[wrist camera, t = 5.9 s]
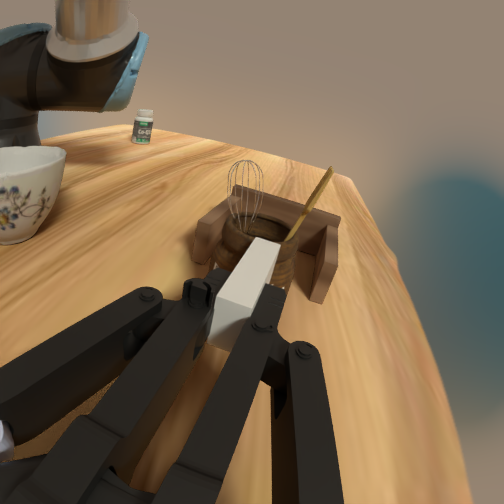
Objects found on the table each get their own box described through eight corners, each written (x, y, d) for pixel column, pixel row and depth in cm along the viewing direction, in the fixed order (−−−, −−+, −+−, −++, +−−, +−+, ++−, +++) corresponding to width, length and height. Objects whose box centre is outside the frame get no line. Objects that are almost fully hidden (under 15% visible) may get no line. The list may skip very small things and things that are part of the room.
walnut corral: (322, 304, 27) (342, 255, 25) (191, 260, 28) (199, 210, 26) (326, 255, 36) (340, 216, 34) (227, 223, 38) (236, 184, 36)
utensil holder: (213, 278, 27) (243, 138, 21) (284, 298, 26) (329, 161, 21) (192, 320, 21) (223, 147, 16) (279, 345, 21) (338, 178, 16)
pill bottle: (134, 144, 68) (139, 110, 64) (129, 140, 71) (133, 108, 67) (152, 144, 71) (157, 111, 67) (145, 140, 74) (150, 109, 70)
